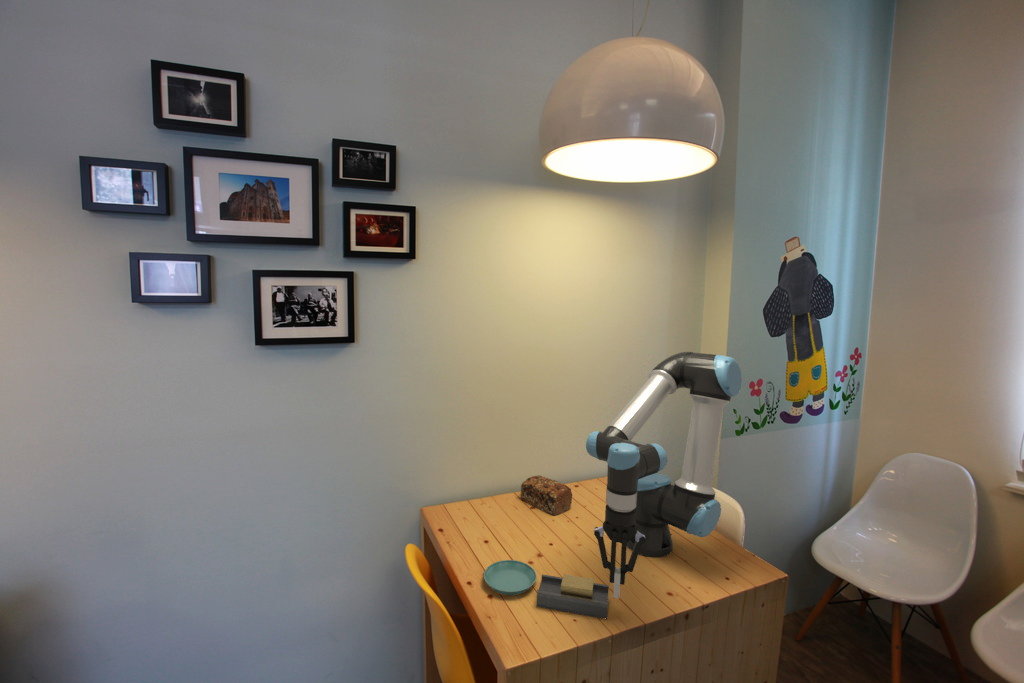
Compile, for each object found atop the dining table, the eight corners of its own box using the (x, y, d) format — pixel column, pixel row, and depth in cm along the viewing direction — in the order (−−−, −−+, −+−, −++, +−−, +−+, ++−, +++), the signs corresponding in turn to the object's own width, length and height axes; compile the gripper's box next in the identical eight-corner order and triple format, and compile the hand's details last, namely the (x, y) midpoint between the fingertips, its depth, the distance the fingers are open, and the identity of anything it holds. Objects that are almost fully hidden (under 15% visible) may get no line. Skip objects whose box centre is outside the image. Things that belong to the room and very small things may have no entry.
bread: (572, 509, 175) (573, 484, 174) (552, 518, 168) (553, 491, 167) (538, 493, 189) (539, 470, 188) (519, 500, 182) (519, 476, 181)
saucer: (476, 574, 133) (477, 565, 132) (523, 564, 138) (523, 556, 138) (493, 605, 119) (494, 596, 119) (545, 593, 124) (545, 584, 124)
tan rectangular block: (593, 589, 121) (593, 578, 121) (592, 601, 117) (592, 590, 116) (563, 584, 123) (563, 574, 123) (560, 596, 118) (561, 585, 118)
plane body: (608, 599, 122) (608, 585, 122) (607, 619, 115) (608, 604, 114) (541, 588, 126) (542, 574, 126) (536, 606, 119) (536, 592, 118)
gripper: (647, 503, 118) (642, 590, 120) (595, 496, 121) (591, 581, 123) (648, 516, 110) (643, 608, 112) (593, 508, 113) (589, 599, 115)
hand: (616, 594), depth 118 cm, fingers closed
